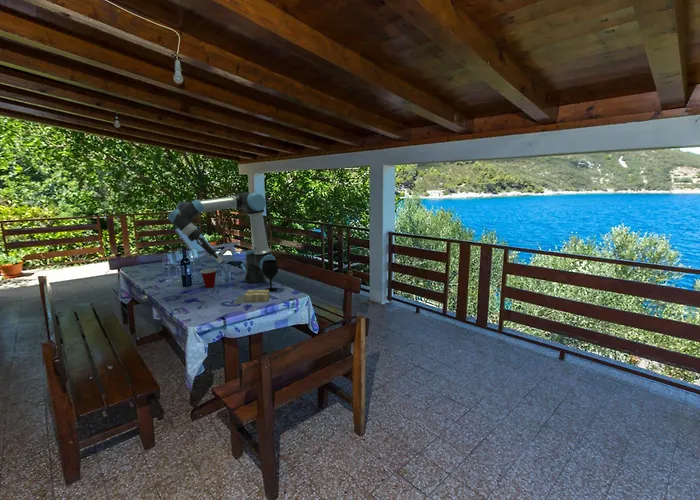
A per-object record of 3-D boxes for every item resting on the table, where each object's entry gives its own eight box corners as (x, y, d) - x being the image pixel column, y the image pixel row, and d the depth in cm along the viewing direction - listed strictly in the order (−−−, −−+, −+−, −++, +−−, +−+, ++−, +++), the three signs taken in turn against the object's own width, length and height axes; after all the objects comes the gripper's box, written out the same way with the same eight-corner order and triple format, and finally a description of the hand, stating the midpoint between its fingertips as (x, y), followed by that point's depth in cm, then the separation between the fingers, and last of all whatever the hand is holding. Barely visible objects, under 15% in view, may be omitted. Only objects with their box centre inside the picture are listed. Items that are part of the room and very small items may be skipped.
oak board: (247, 290, 215) (268, 289, 217) (247, 296, 216) (269, 295, 218) (244, 295, 206) (267, 294, 207) (245, 301, 206) (267, 300, 208)
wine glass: (262, 293, 224) (261, 263, 221) (263, 288, 234) (262, 259, 231) (279, 292, 226) (278, 262, 223) (279, 287, 236) (278, 259, 233)
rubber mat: (238, 296, 218) (238, 295, 218) (271, 295, 221) (271, 294, 221) (233, 304, 203) (233, 303, 203) (268, 303, 205) (268, 302, 205)
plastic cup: (199, 286, 239) (197, 269, 237) (215, 283, 245) (214, 267, 243) (203, 290, 231) (202, 272, 228) (219, 287, 237) (218, 270, 235)
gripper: (188, 236, 207) (217, 264, 212) (184, 237, 194) (215, 267, 200) (198, 228, 208) (227, 256, 214) (195, 228, 196) (225, 258, 201)
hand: (221, 261), depth 207 cm, fingers closed
